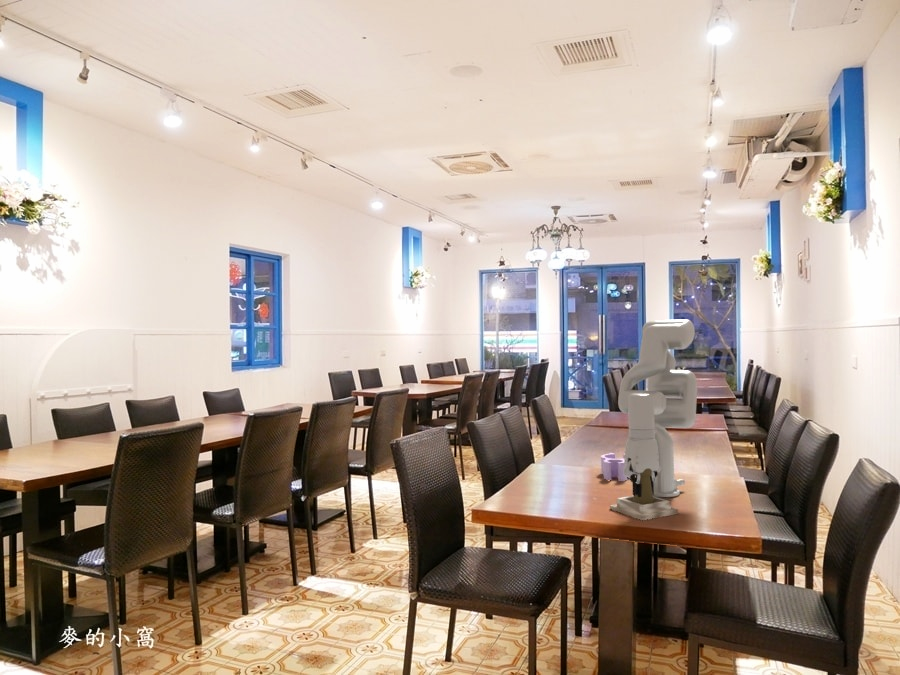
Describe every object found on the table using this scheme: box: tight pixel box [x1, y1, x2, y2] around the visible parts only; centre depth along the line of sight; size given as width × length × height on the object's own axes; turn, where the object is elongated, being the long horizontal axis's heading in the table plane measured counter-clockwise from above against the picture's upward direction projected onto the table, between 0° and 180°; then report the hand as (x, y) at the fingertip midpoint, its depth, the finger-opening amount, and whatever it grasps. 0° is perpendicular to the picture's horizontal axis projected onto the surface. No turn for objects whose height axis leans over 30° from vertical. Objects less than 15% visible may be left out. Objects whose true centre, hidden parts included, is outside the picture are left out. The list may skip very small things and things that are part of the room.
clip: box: [600, 452, 631, 482], centre depth 241 cm, size 20×12×7 cm, turn 159°
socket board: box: [609, 495, 679, 521], centre depth 192 cm, size 14×14×4 cm
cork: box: [633, 468, 654, 505], centre depth 192 cm, size 6×6×11 cm
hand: (643, 494), depth 192 cm, fingers closed on cork, 4 cm apart
